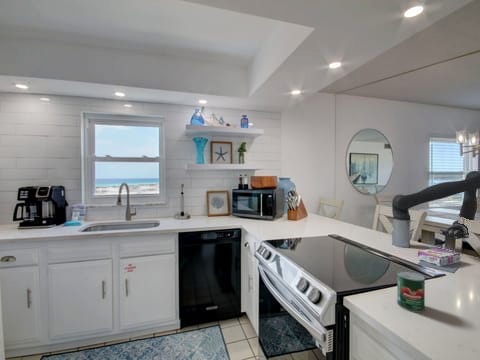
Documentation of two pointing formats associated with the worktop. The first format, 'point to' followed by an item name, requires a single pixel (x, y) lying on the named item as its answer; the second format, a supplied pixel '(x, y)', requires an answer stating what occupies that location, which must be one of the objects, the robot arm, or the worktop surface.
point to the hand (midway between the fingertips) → (450, 236)
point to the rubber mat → (446, 268)
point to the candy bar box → (439, 256)
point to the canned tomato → (411, 291)
